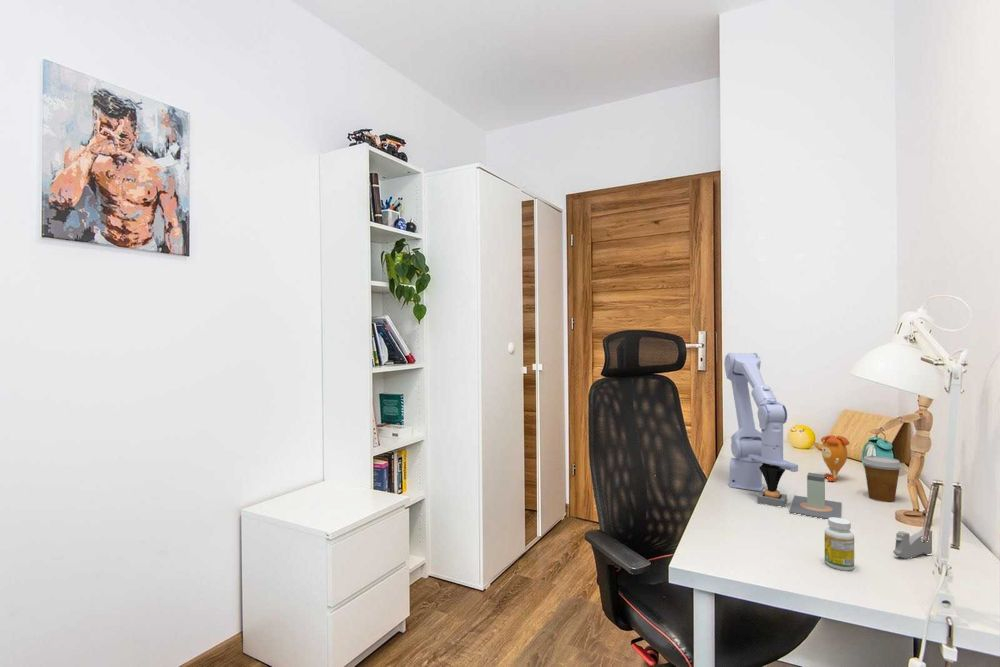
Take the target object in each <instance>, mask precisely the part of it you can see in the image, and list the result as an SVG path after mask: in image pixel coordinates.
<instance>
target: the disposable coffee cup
mask: <svg viewBox="0 0 1000 667" xmlns="http://www.w3.org/2000/svg"><path fill="white" fill-rule="evenodd" d="M862 463H863V466H864V472H865V478H866V479H865V480H866V485H867V491H868V492H867V493H868V498H869V499H872V500H876V501H879V502H886V503H893V502H895V501H896V494H897V487H898V482H899V477H900V476H899V474H900V469H901V468H902V464H901V462H900V460H899V459H896V458H892V457H886V456H879V455H878V456H877V455H866V456H864V457H863V460H862Z"/></svg>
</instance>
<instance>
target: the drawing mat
mask: <svg viewBox="0 0 1000 667" xmlns="http://www.w3.org/2000/svg"><path fill="white" fill-rule="evenodd" d="M789 512H790V513H789ZM788 513H789V514H791V513H796V514H801V515H800V516H802V515H806V516H805V517H808V516H812V517H811V518H814V517H817V518H816V519H820V518H822V519H821V520H825V519H828V518H830V517H836V518H842V501H841V502H840V501H834V500H827V499H825V508H824V510H821V509H815V508H810V507H807V496H801V495H795V494H794V497H793V499H792V501H791V504H790V507H789V510H788ZM796 514H795V515H796Z"/></svg>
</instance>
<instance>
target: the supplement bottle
mask: <svg viewBox="0 0 1000 667" xmlns="http://www.w3.org/2000/svg"><path fill="white" fill-rule="evenodd" d="M827 525H828V526H827V527H826V528H825V529H824V562H825V564H826V565H827V566H829V567H831V568H833V569H835V570H840V571H853V569H855V535H854V533H853V532H852V531H851V521H849V520H848V519H845V518H842V517H841V518H836V517H830V518H828V520H827Z"/></svg>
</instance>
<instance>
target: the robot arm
mask: <svg viewBox="0 0 1000 667" xmlns="http://www.w3.org/2000/svg"><path fill="white" fill-rule="evenodd" d="M761 363H762V362H761V357H760V356H759V354H758V353H756V352H751V353H747V352H746V353H742V352H738V353H737V352H735V353H734V352H733V353H732V352H727V354H726V355H725V358H724V363H723V364H724V370H725V375H726V379H727V380H729V381H730V383H731V387H732V393H733V394H732V395H733V401H734V406H735V412H736V413H735V414H736V419H737V425H738V429H737V430H736V431H735V432H734V433H733V434H732V435H731V436H730V439H731V440H730V441H731V443H730V447H731V448H730V449H731V454H732V456H733V457H731V458H730V460H729V485H728V486H729V487H731V488H737V489H744V490H748V491H754V492H755V491H756V492H760V491H763V489H764V488H765V487H766V486H767V487H766V489H768V491H771V492H773V491H776V490H777V489H778V486H779V484H780V483H779V482H780V480H781V478H782V476H783V475H784V473H785V472H786V471H790V472H792V473H797V472H799V464H796V463H793V462H791V461H790V462H789V461H787V460H784V424H785V423H787V421H788V411H787V410H788V409H787V408H786V405H785V404H784V403H781V401H778V400H777V397H776V396H775V394H774V392H773V390H772V388H771V387H770V386H769V385H766V384H765V382H764V379H763V377H762V375H761V372H760V369H761ZM749 385H750V387H751V388H752V390H751V392H750V389H749V388H750V387H749ZM750 393H751V395H750ZM751 397H752V398H753V401H754V403H755V405H756V407H757V418H758V422H759V424H758V425H759V428H760V429H761V431H759V430H758V429H756V425H755V419H754V412H753V408H752V407H753V406H752V401H751ZM763 478H764V481H765V484H766V486H765V484H763Z"/></svg>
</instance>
